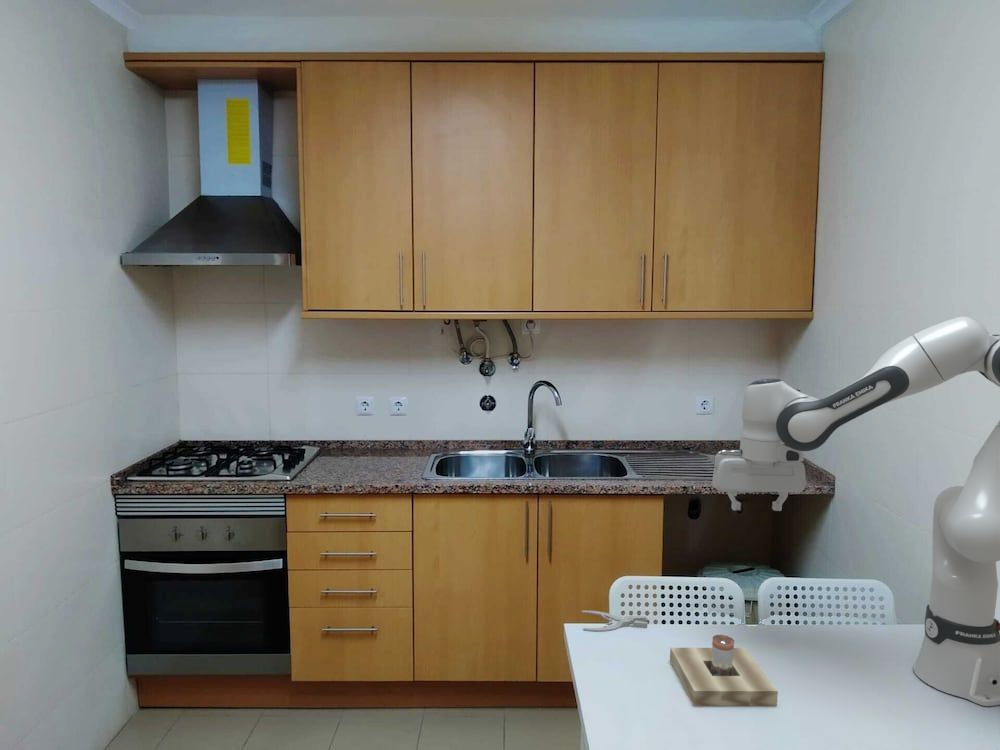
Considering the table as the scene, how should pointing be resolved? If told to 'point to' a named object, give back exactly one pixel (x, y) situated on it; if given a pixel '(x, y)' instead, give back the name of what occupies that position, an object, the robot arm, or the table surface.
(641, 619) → the pliers
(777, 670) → the table surface
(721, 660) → the steel peg
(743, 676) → the wooden flat square block
